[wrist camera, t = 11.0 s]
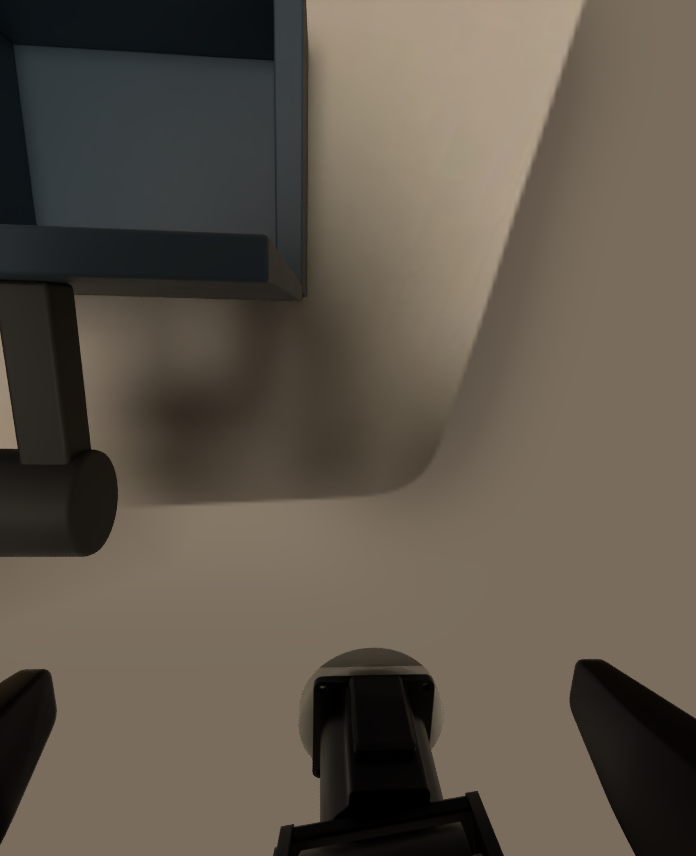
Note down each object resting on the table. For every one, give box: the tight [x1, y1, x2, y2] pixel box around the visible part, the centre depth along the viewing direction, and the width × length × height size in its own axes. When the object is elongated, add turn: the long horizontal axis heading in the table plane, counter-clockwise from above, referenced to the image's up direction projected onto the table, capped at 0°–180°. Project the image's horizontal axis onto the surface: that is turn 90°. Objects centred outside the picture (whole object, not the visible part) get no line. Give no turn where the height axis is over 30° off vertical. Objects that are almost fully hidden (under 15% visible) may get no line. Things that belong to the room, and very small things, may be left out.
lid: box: [0, 224, 302, 557], centre depth 10 cm, size 9×11×4 cm
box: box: [0, 0, 308, 297], centre depth 15 cm, size 9×11×5 cm
